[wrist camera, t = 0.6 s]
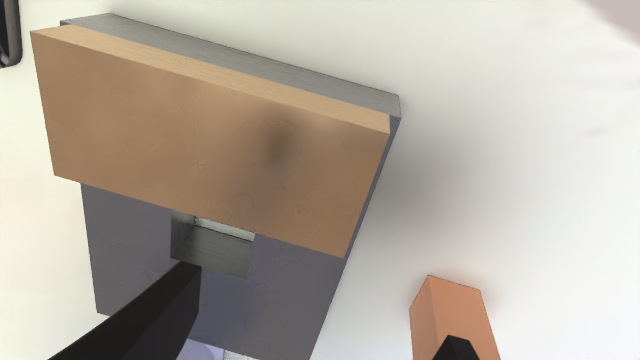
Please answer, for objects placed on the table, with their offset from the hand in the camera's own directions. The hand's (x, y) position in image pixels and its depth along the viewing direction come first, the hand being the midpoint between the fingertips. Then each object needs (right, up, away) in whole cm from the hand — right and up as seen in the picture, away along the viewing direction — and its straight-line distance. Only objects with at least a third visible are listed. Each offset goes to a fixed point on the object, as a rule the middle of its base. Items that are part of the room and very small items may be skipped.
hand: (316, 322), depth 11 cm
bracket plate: (-5, +3, +11) cm, 12 cm away
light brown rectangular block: (+8, -3, +12) cm, 15 cm away
